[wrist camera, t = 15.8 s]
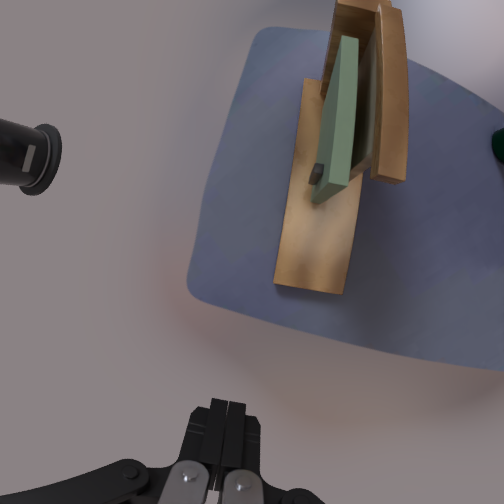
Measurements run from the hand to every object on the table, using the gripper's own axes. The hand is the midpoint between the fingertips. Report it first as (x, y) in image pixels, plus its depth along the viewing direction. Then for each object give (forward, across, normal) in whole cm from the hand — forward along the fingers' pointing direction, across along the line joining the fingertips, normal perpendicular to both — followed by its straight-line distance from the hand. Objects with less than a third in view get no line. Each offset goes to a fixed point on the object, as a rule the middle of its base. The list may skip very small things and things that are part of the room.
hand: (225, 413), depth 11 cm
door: (+23, -5, -14) cm, 27 cm away
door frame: (+24, -7, -11) cm, 27 cm away
